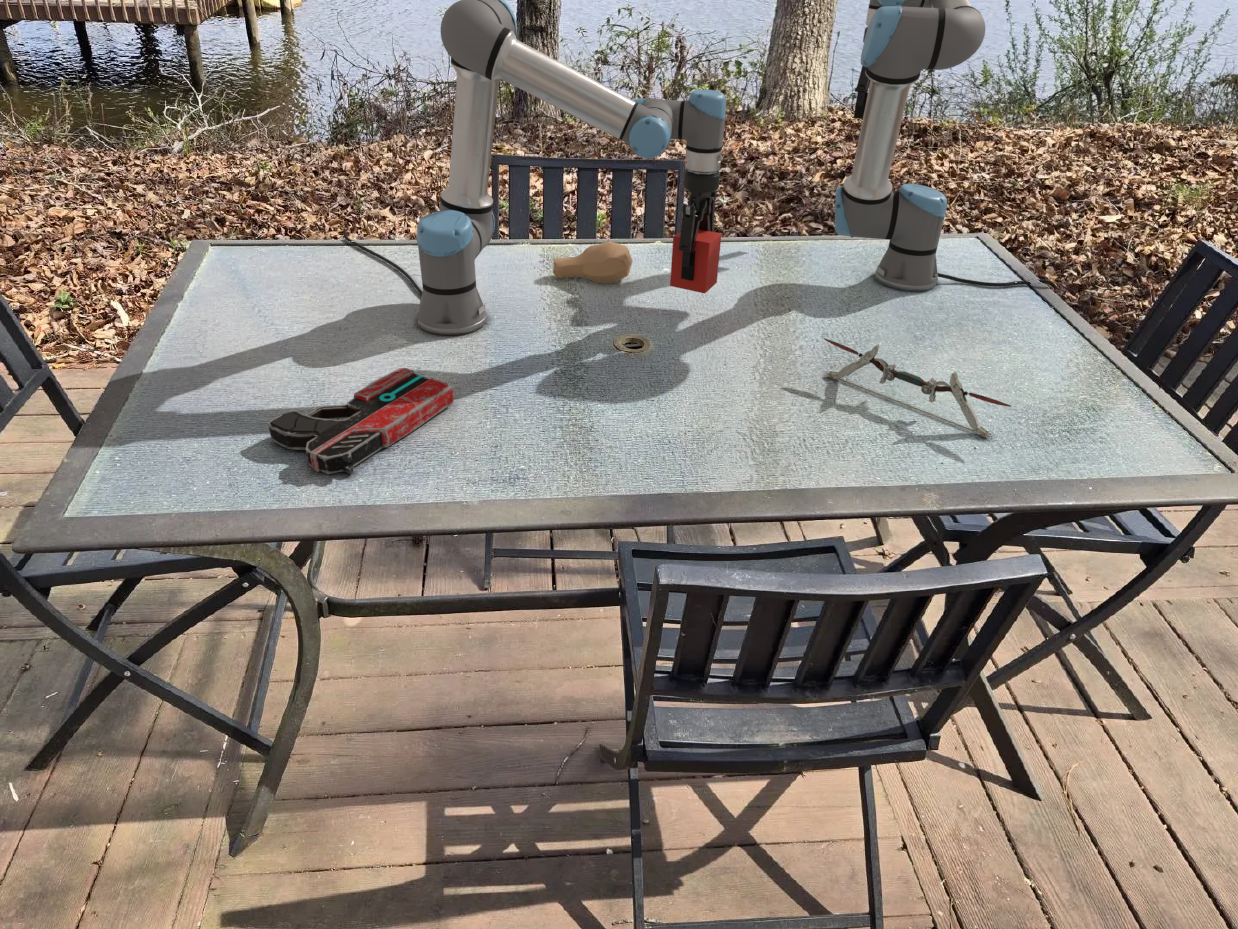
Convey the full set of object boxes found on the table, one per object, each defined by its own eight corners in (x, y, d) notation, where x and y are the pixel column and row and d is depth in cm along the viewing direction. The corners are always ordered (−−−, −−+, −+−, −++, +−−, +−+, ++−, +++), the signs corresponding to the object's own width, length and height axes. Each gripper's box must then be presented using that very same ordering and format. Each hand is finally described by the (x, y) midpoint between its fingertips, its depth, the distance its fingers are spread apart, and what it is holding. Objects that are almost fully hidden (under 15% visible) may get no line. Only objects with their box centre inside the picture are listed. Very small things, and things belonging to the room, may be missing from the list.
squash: (634, 287, 216) (630, 255, 210) (554, 294, 218) (548, 263, 212) (634, 264, 224) (630, 232, 218) (556, 271, 226) (551, 240, 220)
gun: (253, 426, 149) (335, 462, 141) (381, 354, 171) (459, 383, 163) (258, 448, 152) (340, 485, 144) (384, 375, 174) (460, 403, 166)
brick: (705, 293, 195) (709, 243, 188) (669, 286, 198) (673, 236, 191) (716, 282, 200) (721, 233, 194) (682, 275, 203) (686, 226, 197)
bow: (1002, 440, 160) (1018, 392, 155) (998, 443, 159) (1013, 395, 153) (820, 369, 181) (828, 325, 176) (815, 372, 180) (823, 328, 175)
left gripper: (701, 184, 176) (692, 291, 189) (735, 161, 191) (725, 262, 204) (666, 178, 178) (660, 284, 191) (703, 156, 194) (695, 256, 206)
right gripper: (883, 34, 216) (867, 123, 228) (905, 23, 235) (889, 106, 247) (853, 31, 219) (839, 120, 231) (877, 20, 238) (863, 103, 250)
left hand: (694, 273), depth 197 cm, fingers closed on brick, 7 cm apart
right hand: (865, 113), depth 239 cm, fingers open, 13 cm apart
